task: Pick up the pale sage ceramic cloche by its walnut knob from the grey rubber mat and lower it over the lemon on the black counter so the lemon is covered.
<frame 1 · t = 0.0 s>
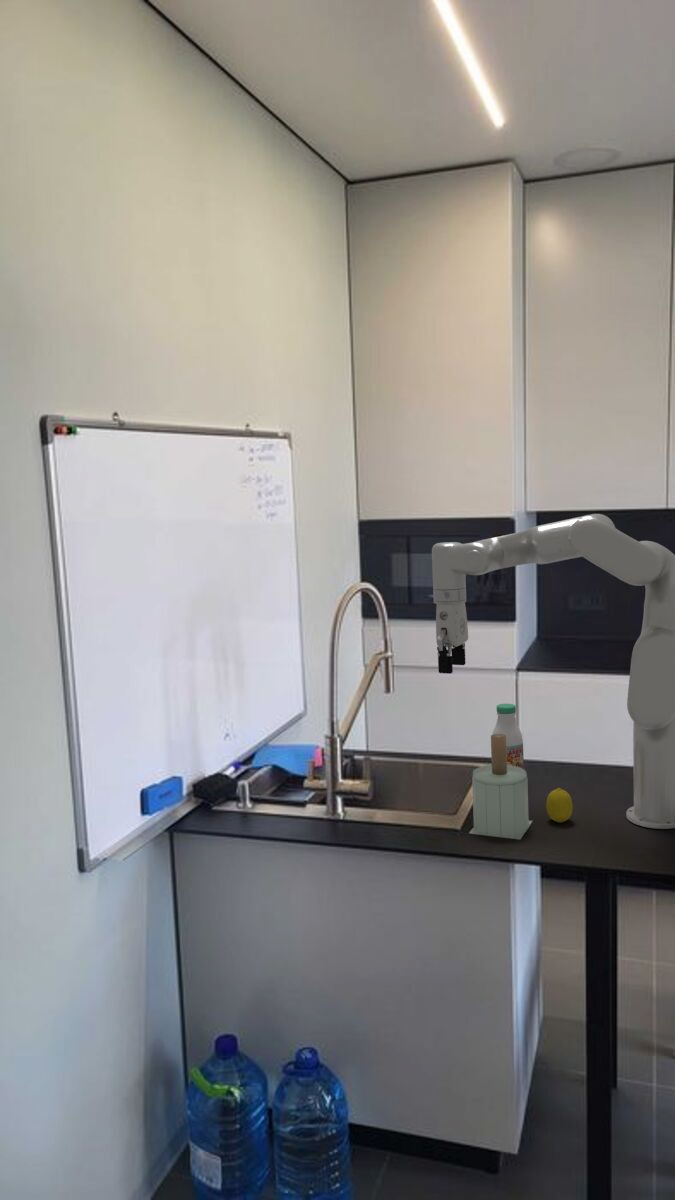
hand: (452, 668, 211), 31 cm above the countertop, tool pointing down, fingers open, 9 cm apart
cloche: (501, 826, 194), point 1 cm above the countertop, touching mat
milk bottle: (508, 785, 223), on the countertop
mat: (501, 829, 194), on the countertop
lemon: (559, 824, 196), on the countertop
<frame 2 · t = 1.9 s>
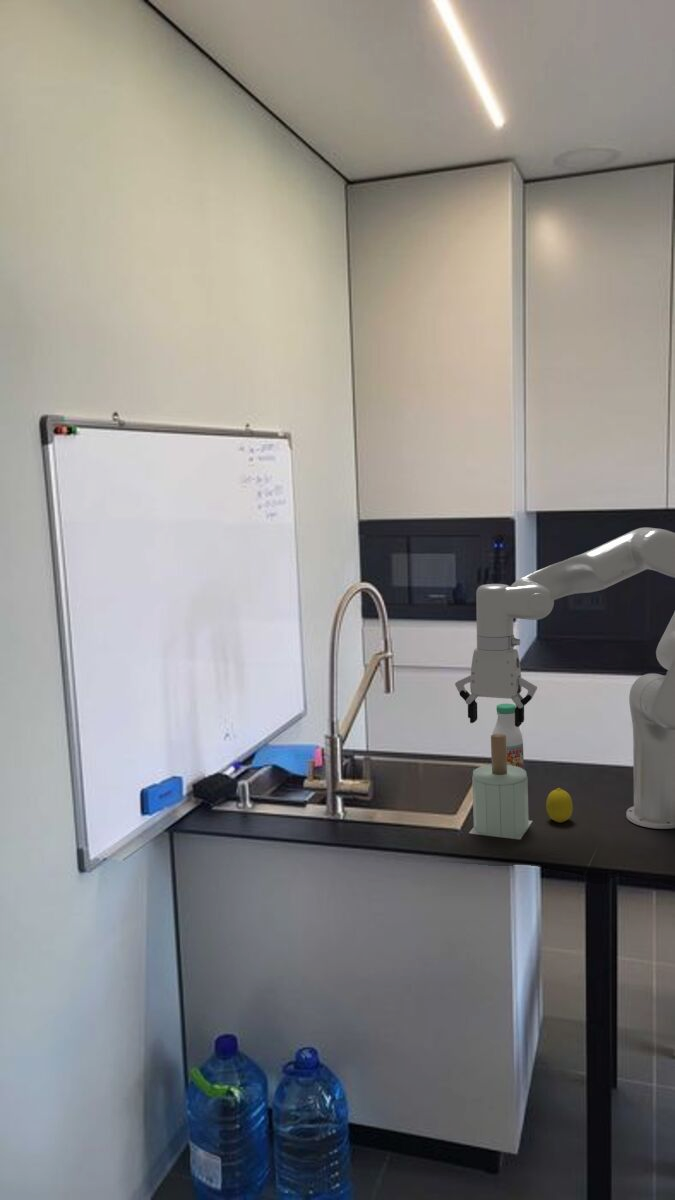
hand: (495, 723, 192), 23 cm above the countertop, tool pointing down, fingers open, 9 cm apart
nothing on the countertop moved.
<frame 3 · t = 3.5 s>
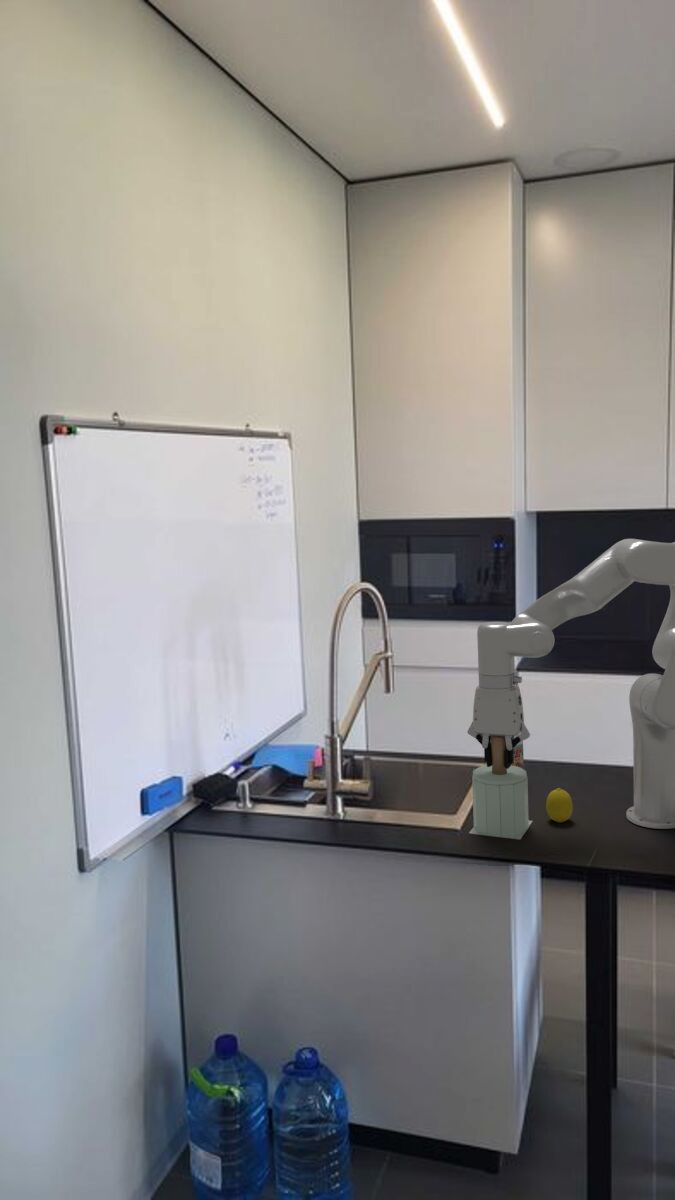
hand: (499, 765, 193), 14 cm above the countertop, tool pointing down, fingers closed on cloche, 3 cm apart
cloche: (501, 826, 194), point 1 cm above the countertop, touching gripper, mat
everything else where it was.
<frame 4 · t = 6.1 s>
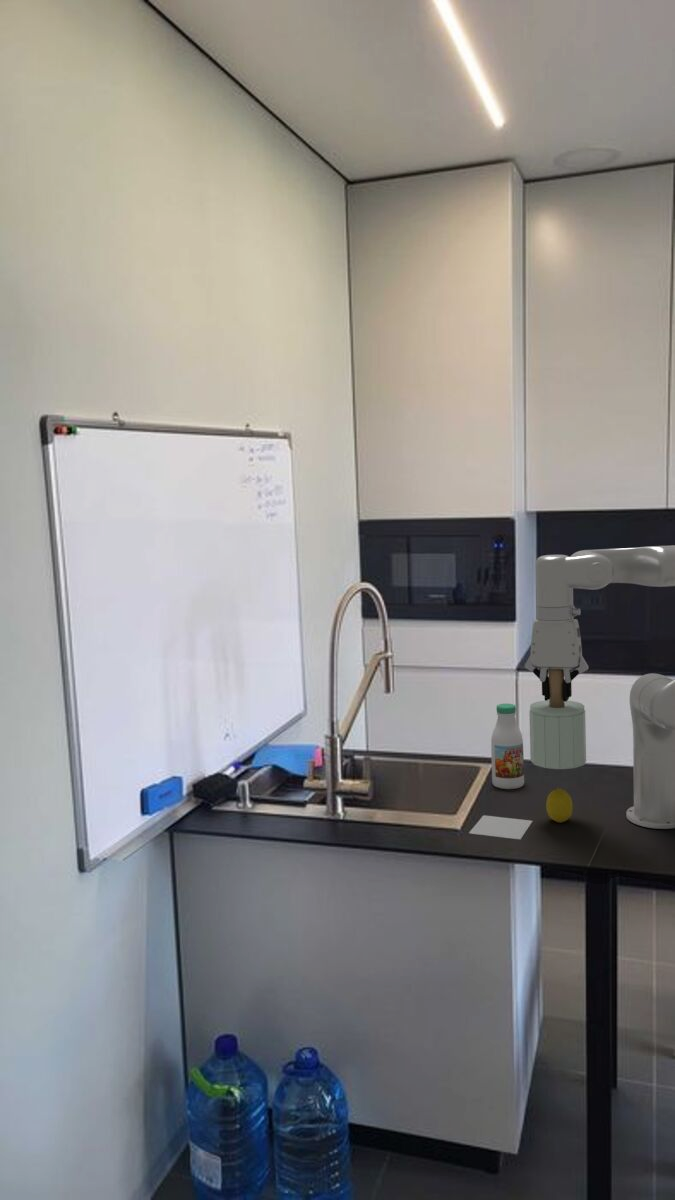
hand: (556, 698, 193), 28 cm above the countertop, tool pointing down, fingers closed on cloche, 3 cm apart
cloche: (558, 760, 194), point 14 cm above the countertop, touching gripper
everything else where it was.
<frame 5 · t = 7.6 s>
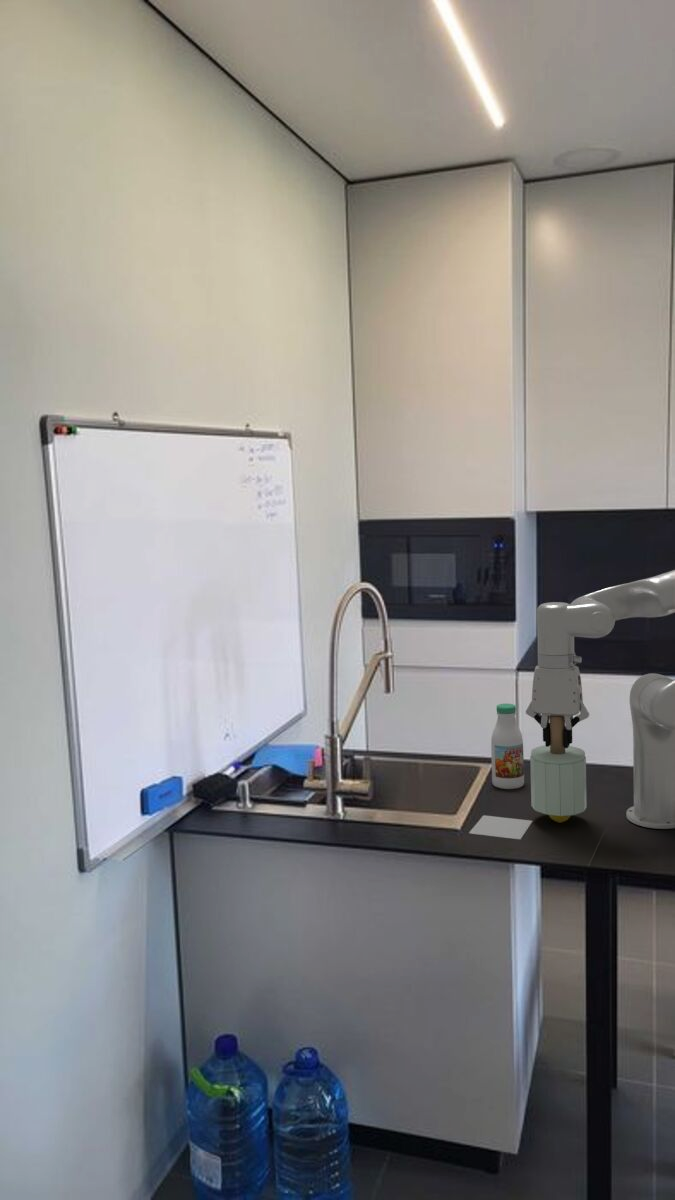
hand: (557, 744, 194), 18 cm above the countertop, tool pointing down, fingers closed on cloche, 3 cm apart
cloche: (558, 806, 196), point 4 cm above the countertop, touching gripper
everything else where it was.
when the fingers open (15 cm above the countertop, at t = 8.9 s): cloche drops 1 cm, on the countertop.
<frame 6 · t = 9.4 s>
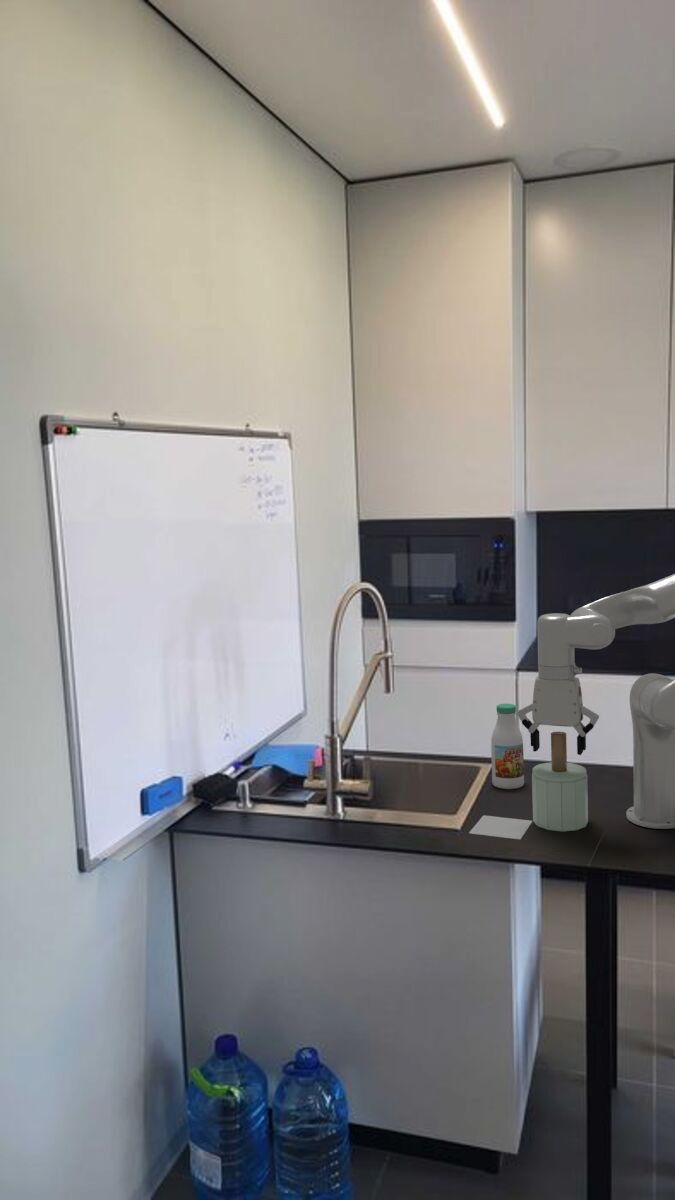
hand: (558, 751, 194), 16 cm above the countertop, tool pointing down, fingers open, 9 cm apart
cloche: (560, 823, 196), on the countertop
everything else where it was.
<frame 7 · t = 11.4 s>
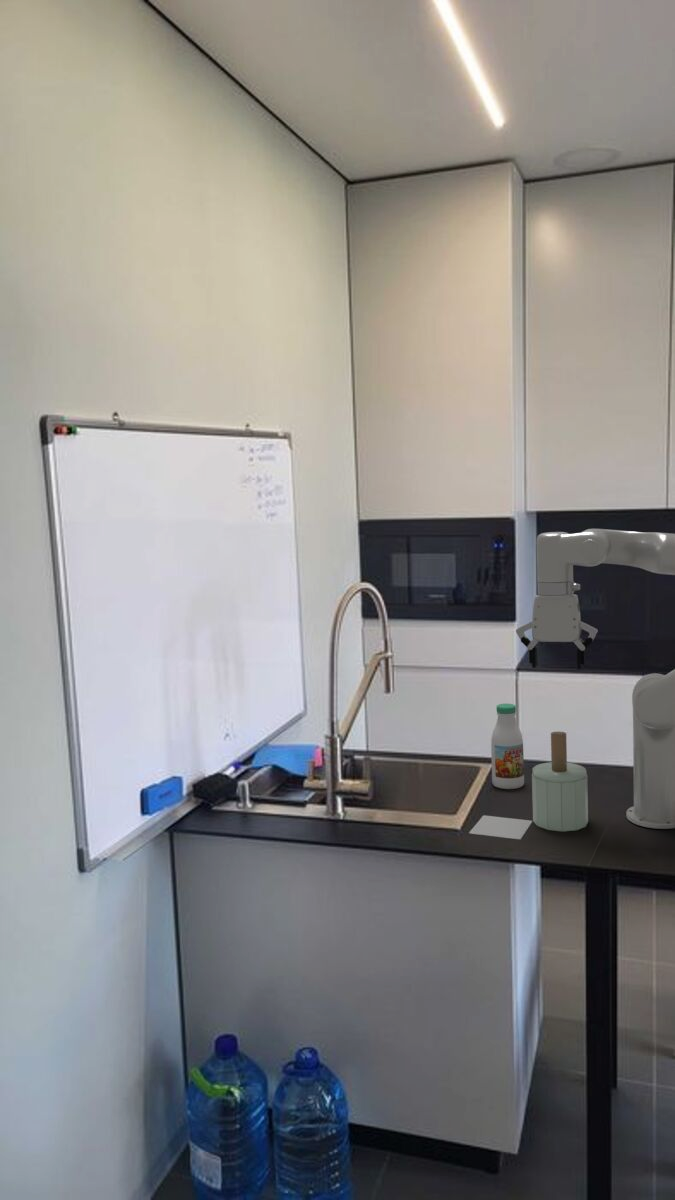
hand: (557, 667, 198), 33 cm above the countertop, tool pointing down, fingers open, 9 cm apart
nothing on the countertop moved.
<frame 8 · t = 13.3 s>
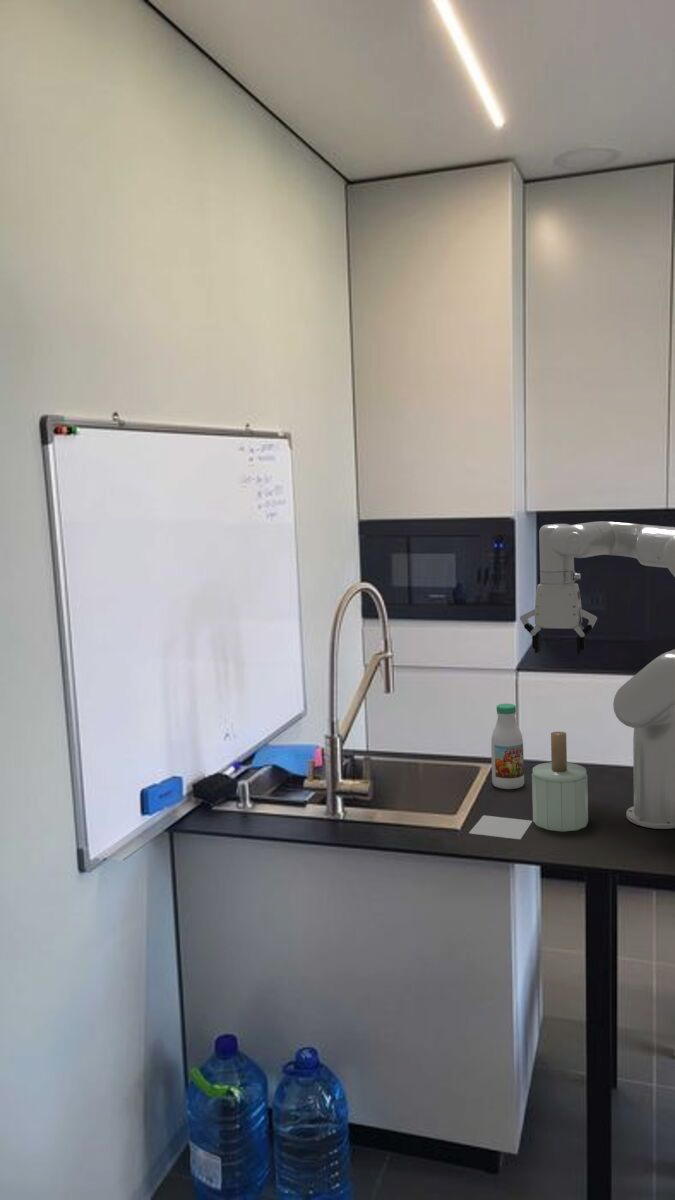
hand: (558, 652, 208), 34 cm above the countertop, tool pointing down, fingers open, 9 cm apart
nothing on the countertop moved.
at the end: cloche 0.2 cm from the lemon (horizontally); cloche on the countertop; cloche tilted 0° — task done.
